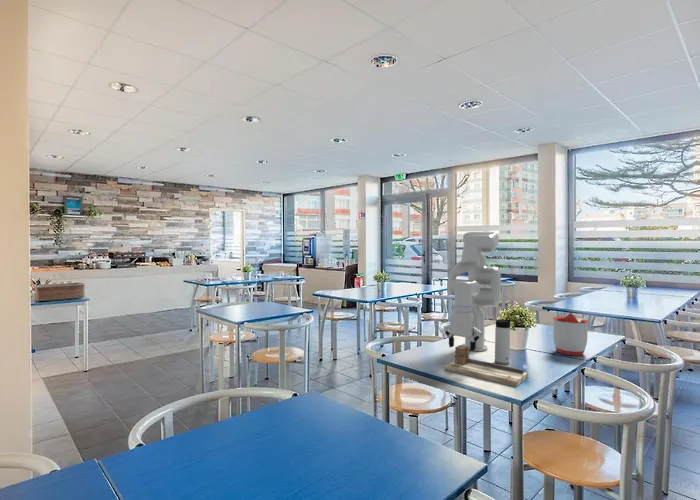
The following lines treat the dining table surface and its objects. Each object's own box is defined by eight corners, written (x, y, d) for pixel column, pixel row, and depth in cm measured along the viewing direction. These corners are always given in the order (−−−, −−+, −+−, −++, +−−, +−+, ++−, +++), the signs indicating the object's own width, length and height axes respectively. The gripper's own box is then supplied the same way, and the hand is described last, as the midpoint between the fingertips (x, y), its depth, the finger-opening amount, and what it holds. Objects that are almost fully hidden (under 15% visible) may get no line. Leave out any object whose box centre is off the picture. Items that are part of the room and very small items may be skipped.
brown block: (460, 360, 186) (460, 344, 185) (468, 362, 183) (468, 346, 183) (451, 364, 179) (451, 348, 179) (460, 366, 177) (460, 350, 176)
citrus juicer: (595, 353, 208) (596, 314, 207) (577, 359, 198) (578, 317, 197) (564, 346, 220) (565, 309, 220) (545, 351, 210) (547, 312, 210)
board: (459, 362, 190) (459, 355, 190) (527, 377, 171) (528, 368, 170) (444, 370, 179) (445, 361, 179) (516, 386, 160) (516, 377, 160)
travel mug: (511, 365, 186) (512, 321, 186) (495, 364, 188) (496, 320, 187) (508, 361, 193) (509, 318, 192) (493, 360, 194) (494, 317, 193)
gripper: (440, 308, 184) (439, 346, 184) (478, 312, 173) (477, 353, 173) (448, 306, 190) (447, 344, 190) (485, 310, 179) (484, 350, 179)
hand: (461, 348), depth 182 cm, fingers open, 9 cm apart
